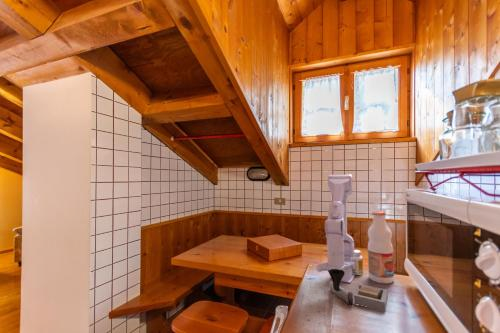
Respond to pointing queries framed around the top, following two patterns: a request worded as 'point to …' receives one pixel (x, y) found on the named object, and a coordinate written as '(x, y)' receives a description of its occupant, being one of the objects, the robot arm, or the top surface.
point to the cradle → (372, 300)
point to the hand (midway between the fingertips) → (336, 290)
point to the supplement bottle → (357, 263)
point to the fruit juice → (380, 250)
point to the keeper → (343, 294)
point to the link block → (370, 292)
